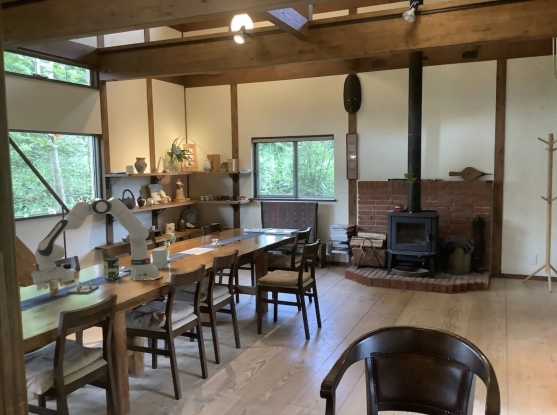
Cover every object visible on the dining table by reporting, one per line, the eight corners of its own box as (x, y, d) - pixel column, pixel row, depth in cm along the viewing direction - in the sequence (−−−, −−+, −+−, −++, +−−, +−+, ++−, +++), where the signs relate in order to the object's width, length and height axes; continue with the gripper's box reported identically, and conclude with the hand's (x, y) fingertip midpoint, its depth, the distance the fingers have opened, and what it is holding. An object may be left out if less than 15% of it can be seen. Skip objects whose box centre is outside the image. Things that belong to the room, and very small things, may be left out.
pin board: (98, 288, 309) (98, 280, 309) (87, 294, 295) (87, 286, 295) (78, 287, 311) (78, 280, 310) (67, 293, 297) (66, 285, 296)
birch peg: (60, 294, 296) (59, 278, 295) (55, 296, 291) (54, 280, 290) (53, 294, 296) (52, 278, 295) (48, 296, 291) (47, 280, 290)
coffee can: (122, 276, 340) (121, 257, 339) (114, 279, 330) (113, 260, 329) (109, 275, 342) (108, 257, 341) (101, 279, 332) (100, 259, 331)
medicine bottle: (74, 280, 332) (73, 263, 331) (65, 282, 326) (64, 265, 325) (68, 278, 336) (67, 262, 334) (59, 281, 330) (58, 264, 328)
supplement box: (167, 266, 369) (167, 248, 368) (163, 269, 360) (163, 250, 359) (156, 266, 370) (155, 248, 369) (152, 269, 361) (151, 250, 360)
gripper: (31, 269, 290) (37, 287, 284) (65, 263, 304) (71, 281, 298) (29, 275, 293) (35, 293, 287) (62, 269, 307) (69, 286, 301)
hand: (54, 287), depth 293 cm, fingers open, 8 cm apart
